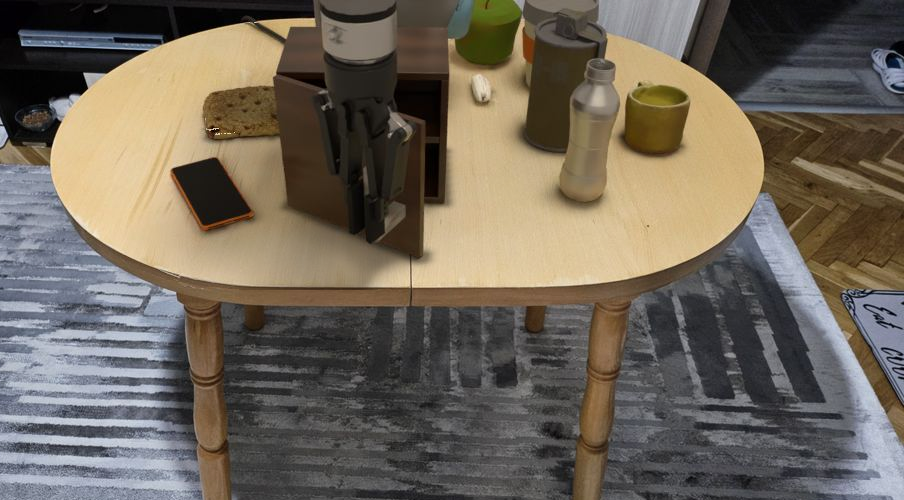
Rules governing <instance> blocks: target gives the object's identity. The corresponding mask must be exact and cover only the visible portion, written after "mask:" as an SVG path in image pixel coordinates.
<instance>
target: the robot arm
mask: <svg viewBox="0 0 904 500" xmlns="http://www.w3.org/2000/svg"><path fill="white" fill-rule="evenodd" d="M312 1H313V11H314V25H315V26H314V27H322V39H323V47H324V49H325V50H326V51H325V52H324V55H323V58H324V72H325V83H326V86H327V88H326V89H324V90H322V91H320V92H319V93H317V94H315V95H313V96H312V97H311V101H312V104H313V106H314V108H315V111H316V113H317V115H318V119H319V125H320V130H321V135H322V140H323V146H324V151H325V156H326V162H327V167H328V171H329V173H330V175H332V176H335V175H337V176H338V177H339V178H340V182H341V184H342V185H343V190H344V202H345V205H346V206H348V218H349V230H348V232H349V234H350V235H351V236H354V237H355V236H356V235H358V233H359V232H360V231H361V230H363V229H364V228H365V236H364V237H365V243H366V244H369V245H372V244H374V243H373V242H374V241H376V240H377V239H378V238H380V237H381V236H382V235H384V234H385V218H386V217H387V216H388V214H389V210H388V209H389V207H388V206H389V203H388V201H389V200H391V199H392V198H394V197H395V196H396V195H398V194H399V193H400V192H402V191H403V188H404V181H405V174H406V167H407V160H408V153H409V146H410V140H411V138H412V137H413V135H414V133H415V132H416V130H417V126H416V124H415V123H414V122H413V121H409V122H408V123H406V122H405V121H404V120H403V119H402V118H401V117H400V116H399V115H398V114H397V106H396V103H395V101H394V97H393V94H394V90H395V87H396V84H397V52H396V50H395V48H396V47H397V27H426V28H448V40H455V39H460V38H463V37H464V36H465V35H466V34H467V32H468V30H469V25H470V21H471V16H472V11H473V6H474V0H312ZM246 21H248V22H250V23H252V24H253V25H254V26H255V27H257V28H259V29H260V30H261V31H264V32H266V33H267V34H268V35H270V36H272V37H275V39H277V40H279V41H280V42H282V43H284V44H285V42H286V39H287V38H285V37H283V36H282V35H281V34H279V33H277V32H275V31H274V30H272V29H270V28H268V27H267V26H265V25H263V24H262V23H260V22H258V20H256V19H255V18H253V17H252V16H249V15H244V16H242V18H241V19H240V22H243V23H245V22H246ZM254 22H258V23H254ZM388 124H389V126H390V130H389V131H388ZM387 137H388V138H390V139H389V142H388V145H387V143H386V139H387ZM363 146H364V154H365V162H366V171H367V179H368V188H369V194H367V195H366V196H365V197H364V183H363V179H361V180H359V178H360V177H361V176H363V170H362V152H363ZM337 159H339V161H338V162H337V161H336V160H337Z"/></svg>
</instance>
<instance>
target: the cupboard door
mask: <svg viewBox="0 0 904 500" xmlns="http://www.w3.org/2000/svg"><path fill="white" fill-rule="evenodd" d="M272 83H273V84H272V85H273V86H274V93H275V101H276V110H277V118H278V126H279V134H278V135H279V143H280V150H281V151H280V153H281V159H282V167H283V177H284V185H285V193H286V202H287V206H288V207H290V208H293V209H296V210H298V211H301V212H303V213H306V214H308V215H311V216H314V217H316V218H318V219H320V220H323V221H326V222H328V223H331V224H333V225H336V226H338V227H341V228H343V229H346V230H347V231H349V218H348V206H346V205H345V202H344V190H343V185H342V184H341V182H340V178H339V177H338V176H337V175H335V176H332V175H330V173H329V171H328V167H327V162H326V156H325V151H324V146H323V140H322V135H321V130H320V125H319V119H318V115H317V113H316V111H315V108H314V106H313V104H312V101H311V97H312V96H313V95H315V94H317V93H319V92H320V91H322V90H324V89H323V88H320V87H317V86H313V85H310V84H307V83H304V82H301V81H297V80H294V79H291V78H288V77H285V76H282V75H278V74H277V75H276V74H275V75H273V76H272ZM397 114H398V115H399V116H400V117H401V118H402V119H403V120H404V121H405V122H406V123H408V122H409V121H413V122H414V123H415V124H416V126H417V130H416V132H415V133H414V135H413V137H412V138H411V140H410V146H409V153H408V160H407V167H406V174H405V181H404V188H403V191H402V192H400V193H399V194H398V195H396V196H395V197H394V198H392V199H391V200H389V201H388V203H389V206H388V207H389V209H388V210H389V214H388V216H387V217H386V218H385V234H384V235H382V236H381V237H380V238H378V239H377V240H376V241H374V242H373V243H372V244H376V243H381V244H383V245H387V246H389V247H391V248H394V249H396V250H399V251H402V252H404V253H406V254H409V255H411V256H413V257H416V258H418V259H420V258H421V257H422V256H423V255H424V241H425V240H424V235H425V233H424V232H425V203H424V180H425V120H421V119H418V118H415V117H412V116H409V115H405V114H402V113H399V112H397ZM389 130H390V126H389V124H388V131H389ZM389 139H390V138H388V137H387V139H386V143H387V145H388V142H389ZM336 161H337V162H338V161H339V159H337V160H336ZM362 170H363V176H361V177H360V178H359V180H361V179H363V183H364V197H365V196H366V195H367V194H369V188H368V179H367V171H366V162H365V154H364V146H363V152H362ZM357 235H361V236H363V237H365V228H364V229H363V230H361V231H360V232H359V233H357Z"/></svg>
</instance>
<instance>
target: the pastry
mask: <svg viewBox="0 0 904 500" xmlns="http://www.w3.org/2000/svg"><path fill="white" fill-rule="evenodd" d="M203 111H204V112H203ZM202 112H203V116H204V119H205V118H206V124H205V126H204V127H205V131H206V133H207V136H208V137H209V138H210V139H214V140H226V139H235V138H236V137H238V138H241V137H261V136H269V137H271V138H272V137H273V136H275V135H279V126H278V118H277V110H276V101H275V93H274V85H254V86H251V85H250V86H249V85H248V86H245V87H236V88H233V89H232V88H230V89H225V90H223V89H222V90H216V91H213V92H210V93H209V94H208V95H207V96H206V97H205V98H204V101H203V106H202ZM206 128H207V129H213V128H219V129H216V130H215V129H214V130H211V131H209V130H206ZM234 132H235V133H234ZM216 133H217V134H218V133H220V135H215V134H216ZM221 133H222V134H221ZM224 133H226V134H224ZM227 133H231V134H227Z"/></svg>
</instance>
